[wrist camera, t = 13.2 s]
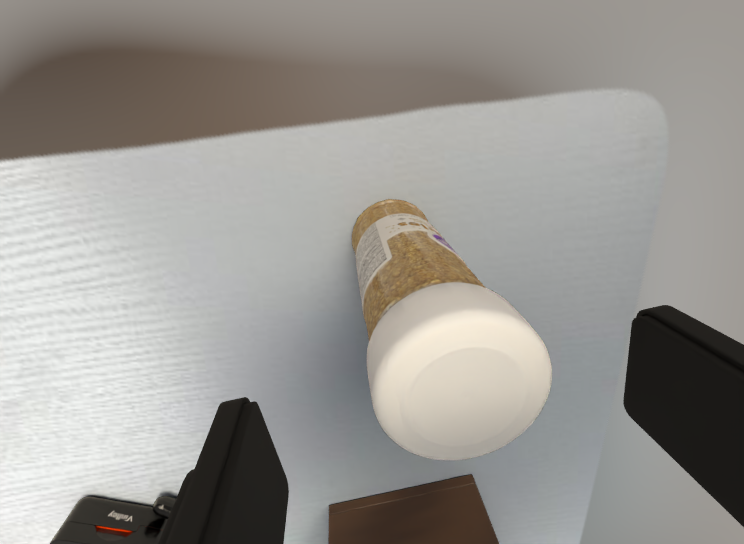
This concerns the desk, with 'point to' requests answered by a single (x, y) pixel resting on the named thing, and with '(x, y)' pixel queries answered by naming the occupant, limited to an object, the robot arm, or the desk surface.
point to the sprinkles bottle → (441, 342)
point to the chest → (415, 516)
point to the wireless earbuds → (114, 522)
